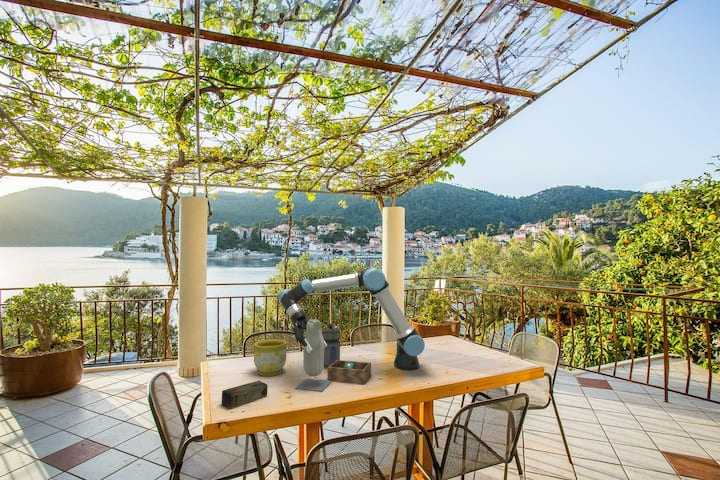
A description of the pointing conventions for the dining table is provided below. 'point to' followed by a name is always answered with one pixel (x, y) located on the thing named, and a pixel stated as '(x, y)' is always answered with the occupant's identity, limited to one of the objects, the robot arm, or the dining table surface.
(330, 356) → the beverage bottle
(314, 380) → the grey mat
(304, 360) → the grey vase
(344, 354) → the dining table surface
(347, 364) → the teal tin
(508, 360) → the dining table surface
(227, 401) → the beverage carton
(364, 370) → the walnut crate
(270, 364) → the flowerpot
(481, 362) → the dining table surface
